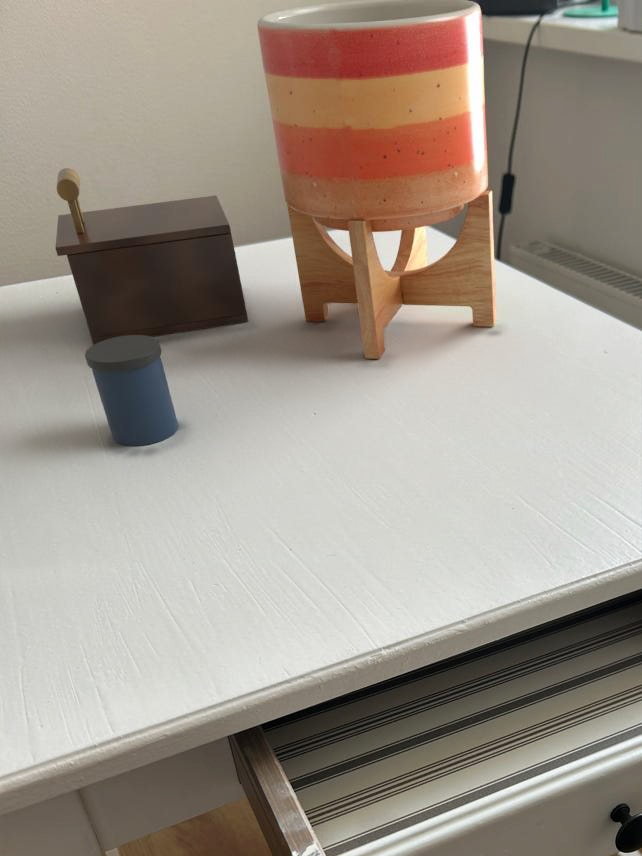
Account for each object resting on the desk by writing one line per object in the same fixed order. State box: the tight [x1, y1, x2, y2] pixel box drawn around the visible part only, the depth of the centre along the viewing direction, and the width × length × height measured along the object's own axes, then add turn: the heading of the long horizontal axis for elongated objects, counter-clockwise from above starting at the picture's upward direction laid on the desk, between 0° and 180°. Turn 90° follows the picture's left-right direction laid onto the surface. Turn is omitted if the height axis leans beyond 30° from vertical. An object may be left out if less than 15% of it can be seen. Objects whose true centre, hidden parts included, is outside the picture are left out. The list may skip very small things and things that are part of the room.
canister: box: [84, 335, 179, 447], centre depth 80 cm, size 6×6×7 cm
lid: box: [54, 167, 232, 257], centre depth 97 cm, size 16×13×6 cm
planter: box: [256, 0, 497, 360], centre depth 91 cm, size 20×20×27 cm
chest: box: [66, 232, 249, 346], centre depth 102 cm, size 16×13×9 cm
